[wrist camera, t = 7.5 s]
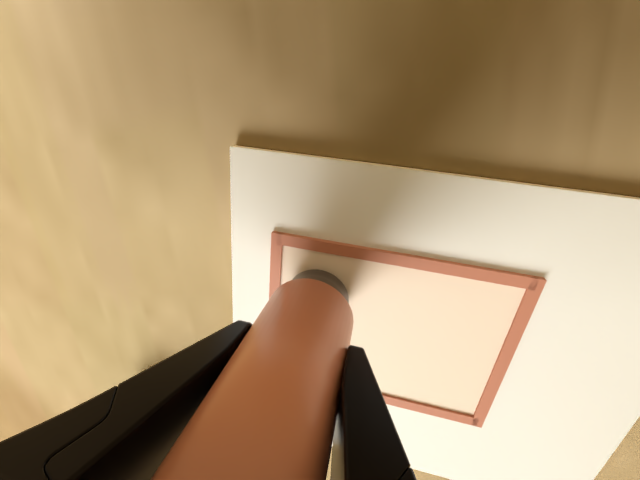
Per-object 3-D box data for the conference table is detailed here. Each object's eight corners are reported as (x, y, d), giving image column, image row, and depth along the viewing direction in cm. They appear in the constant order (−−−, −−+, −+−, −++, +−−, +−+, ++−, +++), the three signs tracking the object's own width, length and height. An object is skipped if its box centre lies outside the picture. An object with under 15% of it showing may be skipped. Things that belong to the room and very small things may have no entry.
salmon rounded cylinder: (362, 269, 10) (252, 885, 2) (351, 336, 11) (249, 908, 3) (282, 254, 11) (-72, 712, 2) (278, 320, 12) (24, 786, 4)
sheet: (765, 214, 8) (792, 220, 8) (565, 501, 13) (572, 518, 13) (235, 145, 10) (226, 146, 10) (238, 412, 16) (233, 423, 15)
